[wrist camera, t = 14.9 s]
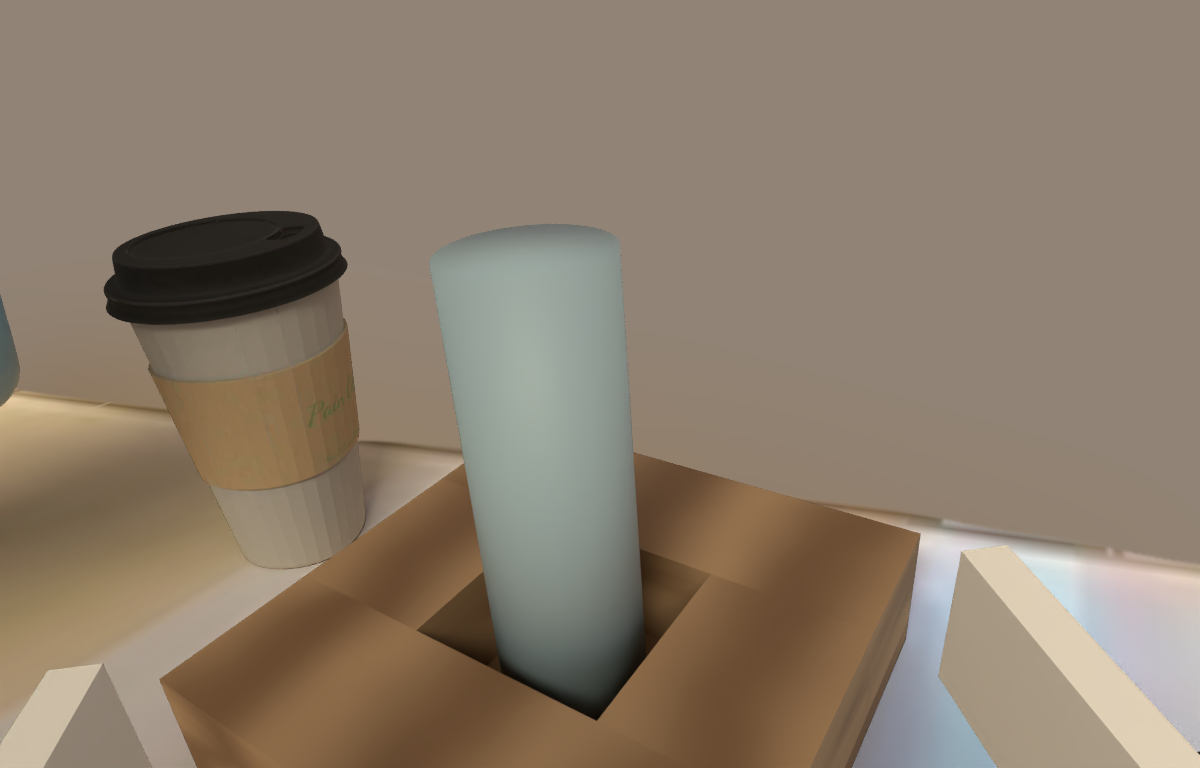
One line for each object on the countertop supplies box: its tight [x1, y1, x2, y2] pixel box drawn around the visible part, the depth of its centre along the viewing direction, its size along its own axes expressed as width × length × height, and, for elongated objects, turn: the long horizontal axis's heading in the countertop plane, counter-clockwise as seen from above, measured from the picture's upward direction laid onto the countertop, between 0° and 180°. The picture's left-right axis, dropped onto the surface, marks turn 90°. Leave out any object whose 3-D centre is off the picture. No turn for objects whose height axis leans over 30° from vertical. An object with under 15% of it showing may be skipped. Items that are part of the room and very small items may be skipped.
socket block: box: [159, 452, 920, 768], centre depth 27 cm, size 18×18×5 cm
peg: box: [429, 224, 646, 721], centre depth 25 cm, size 5×5×16 cm
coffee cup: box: [104, 211, 365, 569], centre depth 36 cm, size 9×9×15 cm
